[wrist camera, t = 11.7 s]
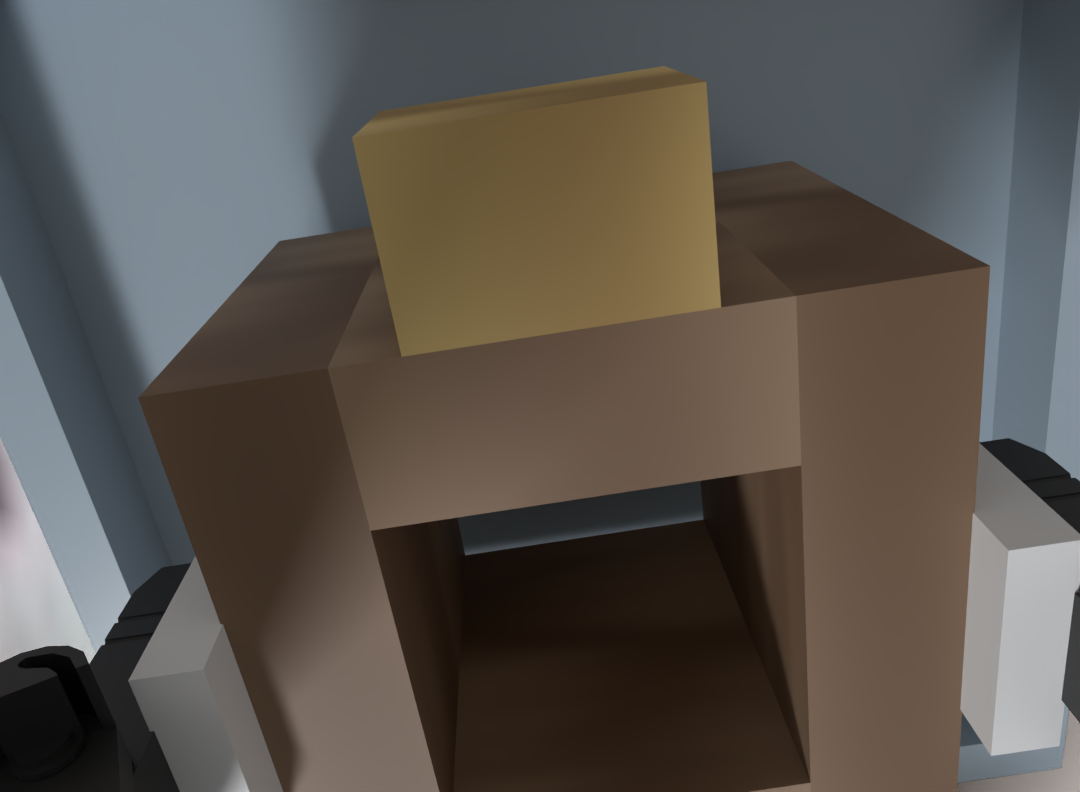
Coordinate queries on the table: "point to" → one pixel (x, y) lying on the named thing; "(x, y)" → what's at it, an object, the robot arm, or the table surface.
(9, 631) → the table surface
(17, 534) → the table surface
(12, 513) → the table surface
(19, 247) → the tray
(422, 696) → the collar
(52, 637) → the table surface
